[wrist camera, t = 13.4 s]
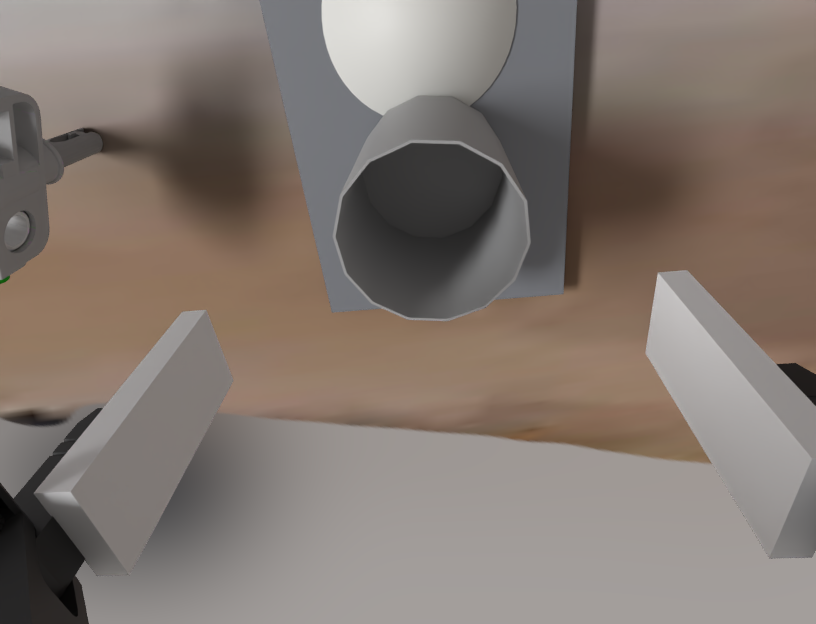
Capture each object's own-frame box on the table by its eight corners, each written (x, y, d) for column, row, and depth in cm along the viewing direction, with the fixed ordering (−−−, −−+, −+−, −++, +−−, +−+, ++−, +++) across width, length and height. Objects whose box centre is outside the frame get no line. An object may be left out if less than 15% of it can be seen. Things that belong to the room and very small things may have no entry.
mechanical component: (113, 61, 29) (-23, 84, 20) (114, 222, 34) (6, 294, 25) (60, 43, 28) (-102, 59, 20) (69, 208, 34) (-57, 277, 25)
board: (249, -73, 25) (214, -87, 21) (576, -126, 23) (605, -153, 19) (334, 303, 36) (322, 340, 32) (559, 285, 35) (575, 322, 31)
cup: (363, 232, 32) (338, 317, 24) (358, 94, 28) (325, 137, 19) (495, 236, 32) (517, 323, 23) (512, 97, 27) (546, 143, 19)
